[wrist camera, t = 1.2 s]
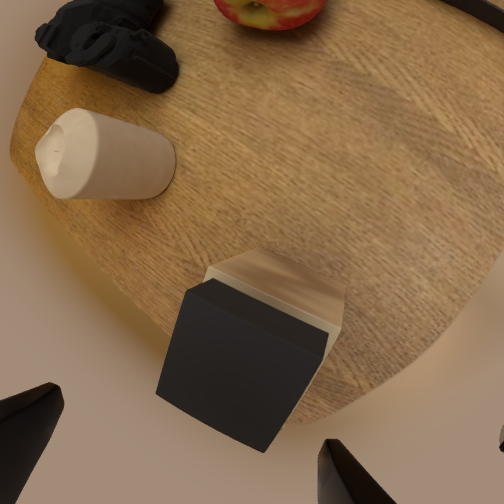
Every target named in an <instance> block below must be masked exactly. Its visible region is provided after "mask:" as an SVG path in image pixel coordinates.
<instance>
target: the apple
mask: <svg viewBox="0 0 504 504" xmlns="http://www.w3.org/2000/svg"><path fill="white" fill-rule="evenodd" d="M326 1H327V0H214V2H215V4H216V6H217V8H218V9H219V11H220V12H221V13H222V14H223V15H224V16H225V17H227V18H228V19H230V20H231V21H234V22H236V23H238V24H241V25H245V26H248V27H252V28H258V29H262V30H290V29H292V28H296V27H298V26H301V25H303V24H305V23H306V22H308V21H310V20H311V19H312V18H313V17H314V16H315V15H316V14H317V13H318V12H319V11H320V10H321V9H322V8H323V6H324V5H325V3H326Z"/></svg>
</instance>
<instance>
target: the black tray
mask: <svg viewBox="0 0 504 504" xmlns="http://www.w3.org/2000/svg"><path fill="white" fill-rule="evenodd" d="M441 1H444V2H446V3H448V4H450V5H453V6H455V7H457V8H459V9H461V10H463V11H465V12H467V13H469V14H471V15H473V16H475V17H477V18H479V19H481V20H482V21H484V22H486V23H488V24H490V25H491V26H493V27H495V28H497V29H498V30H500V31H502V32H503V33H504V10H503V9H501V8H499V7H498V6H496V5H494V4H492V3H490V2H489V1H487V0H441Z"/></svg>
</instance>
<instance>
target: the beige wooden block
mask: <svg viewBox="0 0 504 504" xmlns="http://www.w3.org/2000/svg"><path fill="white" fill-rule="evenodd" d="M212 278H215V279H217V280H219V281H221V282H223V283H225V284H227V285H229V286H231V287H233V288H235V289H237V290H239V291H241V292H243V293H245V294H247V295H249V296H251V297H253V298H255V299H257V300H259V301H261V302H264V303H266V304H268V305H270V306H272V307H274V308H276V309H278V310H280V311H282V312H285V313H287V314H289V315H291V316H293V317H295V318H297V319H299V320H302V321H304V322H306V323H308V324H310V325H312V326H315V327H317V328H319V329H321V330H323V331H325V332H328V333H329V336H328V340H327V345H326V349H325V353H324V358H323V360H322V362H321V364H320V366H319V367H318V369H317V371H316V373H315V374H314V376H313V378H312V380H311V381H310V383H309V385H308V386H307V388H306V390H305V391H304V393H303V395H302V396H301V398H300V399H299V401H298V403H297V404H296V406H295V407H294V409H293V411H292V412H291V414H290V415H289V417H288V418H287V420H286V422H285V423H284V425H283V426H282V428H281V429H280V430H282V429H283V427H284V426H285V425H286V423H287V421H288V420H289V418H290V417H291V415H292V414H293V412H294V411H295V409H296V407H297V406H298V404H299V403H300V401H301V399H302V398H303V396H304V395H305V393H306V391H307V390H308V388H309V386H310V385H311V383H312V381H313V380H314V378H315V376H316V375H317V373H318V371H319V369H320V368H321V366H322V364H323V362H324V361H325V359H326V357H327V355H328V354H329V352H330V350H331V348H332V346H333V345H334V343H335V341H336V339H337V337H338V335H339V333H340V332H341V330H342V323H343V313H344V304H345V293H346V285H345V284H343V283H341V282H338V281H336V280H334V279H332V278H330V277H327V276H325V275H323V274H321V273H319V272H316V271H314V270H312V269H310V268H308V267H305V266H303V265H301V264H299V263H296V262H294V261H292V260H290V259H288V258H285V257H283V256H281V255H279V254H277V253H274V252H272V251H270V250H268V249H265V248H263V247H261V246H258V247H256V248H253V249H251V250H248V251H245V252H243V253H240V254H238V255H235V256H232V257H230V258H227V259H225V260H222V261H219V262H217V263H214V264H212V265H209V266H208V269H207V272H206V275H205V278H204V280H203V282H205V281H208V280H210V279H212Z"/></svg>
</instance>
